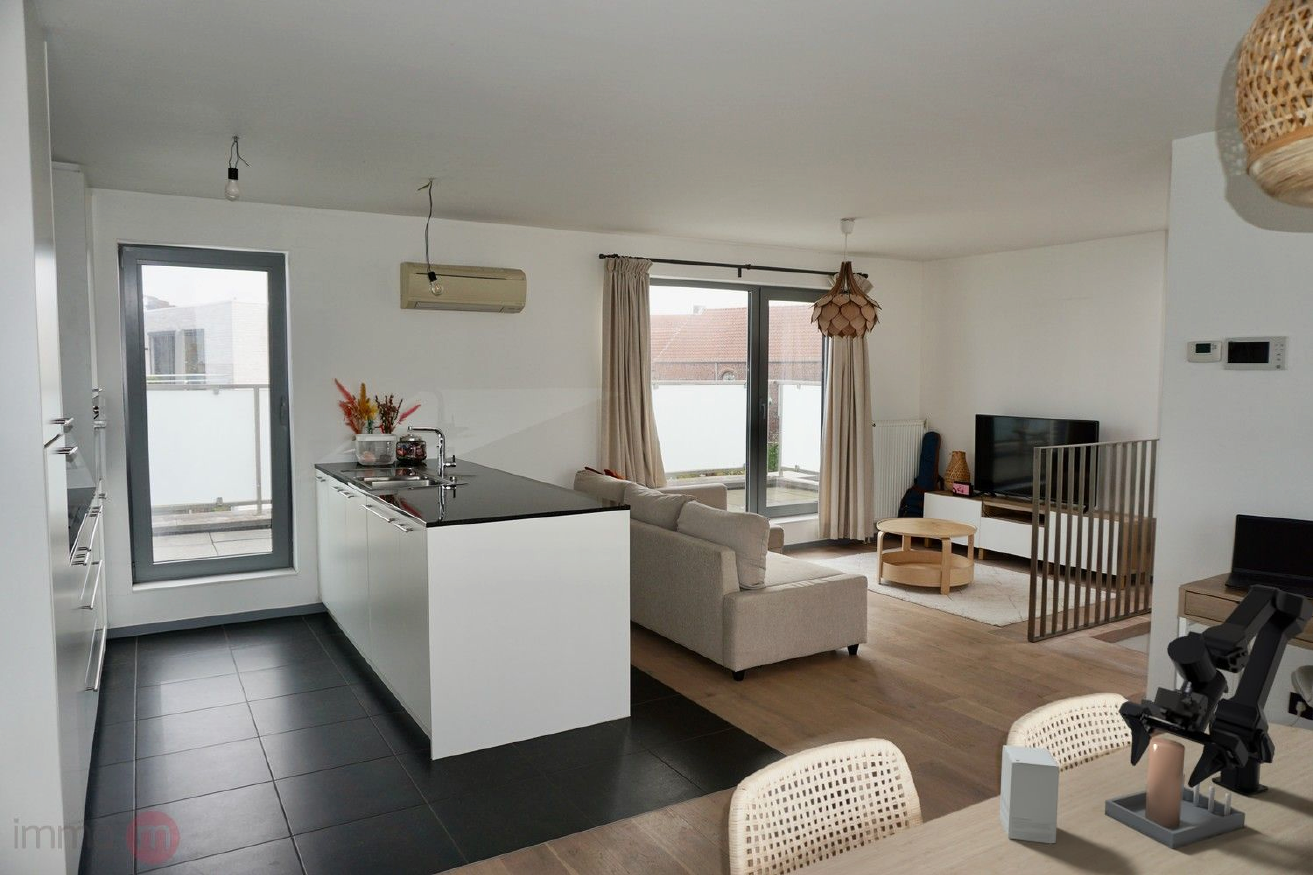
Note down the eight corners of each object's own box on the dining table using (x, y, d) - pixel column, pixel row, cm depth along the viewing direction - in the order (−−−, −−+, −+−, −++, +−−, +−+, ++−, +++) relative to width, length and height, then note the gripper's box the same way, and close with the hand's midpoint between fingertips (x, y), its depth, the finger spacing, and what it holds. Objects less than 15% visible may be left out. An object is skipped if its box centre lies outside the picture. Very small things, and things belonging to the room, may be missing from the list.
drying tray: (1175, 795, 154) (1176, 768, 154) (1244, 827, 144) (1246, 797, 143) (1104, 813, 147) (1106, 785, 147) (1172, 848, 136) (1174, 817, 136)
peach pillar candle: (1148, 809, 148) (1153, 735, 147) (1182, 820, 144) (1187, 743, 144) (1141, 820, 144) (1146, 743, 143) (1176, 831, 141) (1181, 752, 140)
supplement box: (1056, 844, 137) (1060, 766, 136) (1007, 839, 138) (1010, 761, 137) (1045, 822, 144) (1049, 747, 143) (998, 816, 145) (1001, 743, 145)
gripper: (1127, 655, 153) (1088, 728, 147) (1244, 687, 137) (1205, 770, 132) (1148, 691, 157) (1111, 763, 152) (1264, 726, 142) (1227, 808, 136)
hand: (1160, 774), depth 143 cm, fingers open, 9 cm apart
